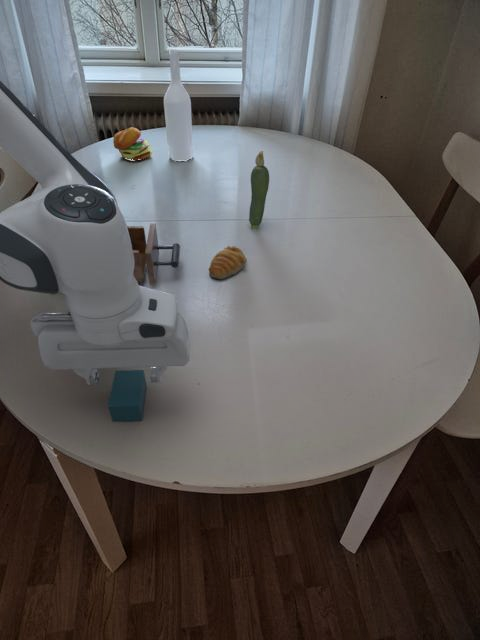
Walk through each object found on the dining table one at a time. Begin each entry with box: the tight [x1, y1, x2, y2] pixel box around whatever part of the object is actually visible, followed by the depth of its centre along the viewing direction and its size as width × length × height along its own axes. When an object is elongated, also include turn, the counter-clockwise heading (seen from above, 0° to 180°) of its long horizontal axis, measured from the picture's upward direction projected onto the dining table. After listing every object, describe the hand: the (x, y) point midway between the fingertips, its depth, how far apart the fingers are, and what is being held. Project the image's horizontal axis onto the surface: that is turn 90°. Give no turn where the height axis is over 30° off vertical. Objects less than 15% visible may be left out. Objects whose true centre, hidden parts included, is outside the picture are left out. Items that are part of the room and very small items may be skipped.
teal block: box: [107, 369, 147, 423], centre depth 68 cm, size 7×4×4 cm, turn 3°
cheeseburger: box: [112, 126, 153, 163], centre depth 136 cm, size 10×11×10 cm
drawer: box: [127, 223, 181, 285], centre depth 91 cm, size 18×11×8 cm, turn 93°
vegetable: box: [248, 150, 270, 230], centre depth 102 cm, size 4×4×20 cm
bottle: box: [163, 49, 194, 163], centre depth 129 cm, size 8×8×30 cm
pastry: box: [208, 245, 248, 280], centre depth 94 cm, size 9×7×4 cm
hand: (125, 380), depth 65 cm, fingers open, 8 cm apart
